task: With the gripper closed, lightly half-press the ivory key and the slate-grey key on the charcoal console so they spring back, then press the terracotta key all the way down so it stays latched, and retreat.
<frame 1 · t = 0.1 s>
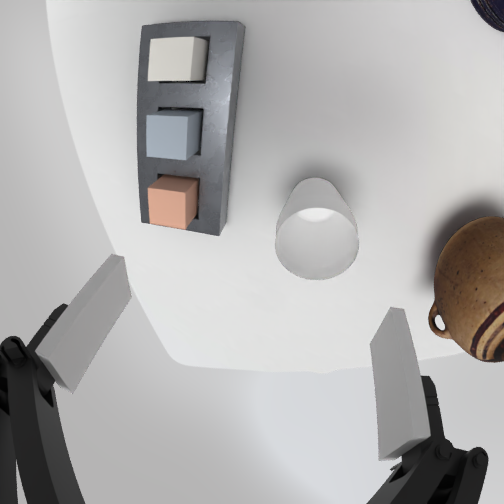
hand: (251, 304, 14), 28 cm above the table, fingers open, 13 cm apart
storage jar: (493, 2, 17), on the table
cup: (315, 199, 40), on the table
ivory key: (179, 59, 27), point 5 cm above the table, slide at 0.0 cm
slate key: (174, 132, 32), point 5 cm above the table, slide at 0.0 cm
console: (190, 125, 37), on the table
terracotta key: (174, 200, 37), point 5 cm above the table, slide at 0.0 cm
vase: (466, 247, 39), on the table
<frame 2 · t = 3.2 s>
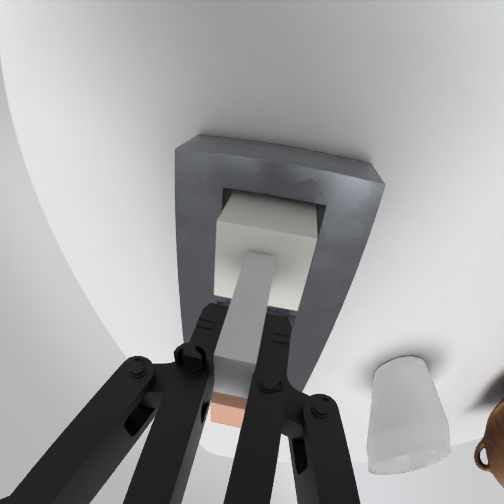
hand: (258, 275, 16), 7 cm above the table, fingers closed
cup: (399, 370, 30), on the table
ivory key: (266, 244, 18), point 5 cm above the table, slide at -0.8 cm, touching gripper
slate key: (249, 346, 22), point 5 cm above the table, slide at 0.0 cm
console: (259, 300, 27), on the table
terracotta key: (240, 397, 28), point 5 cm above the table, slide at 0.0 cm
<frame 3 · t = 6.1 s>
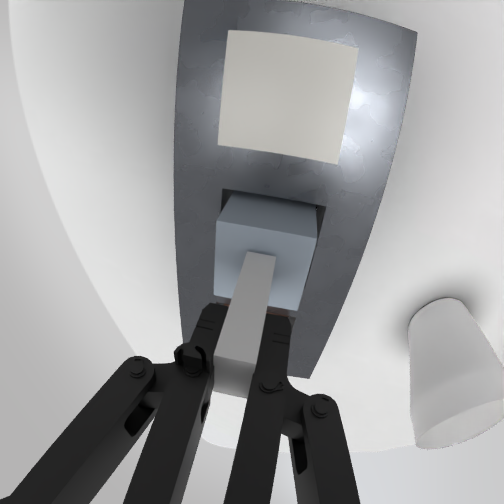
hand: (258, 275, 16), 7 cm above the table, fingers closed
cup: (436, 320, 25), on the table
ivory key: (288, 91, 12), point 5 cm above the table, slide at -0.3 cm
slate key: (266, 244, 18), point 4 cm above the table, slide at -0.9 cm, touching gripper
console: (274, 212, 22), on the table
terracotta key: (248, 347, 22), point 5 cm above the table, slide at 0.0 cm
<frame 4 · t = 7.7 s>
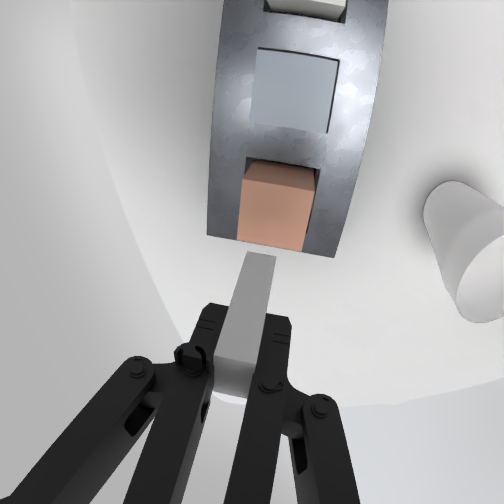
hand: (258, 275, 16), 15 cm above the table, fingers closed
cup: (448, 209, 26), on the table
slate key: (293, 89, 18), point 5 cm above the table, slide at -0.3 cm
console: (295, 87, 23), on the table
terracotta key: (276, 202, 23), point 5 cm above the table, slide at 0.0 cm
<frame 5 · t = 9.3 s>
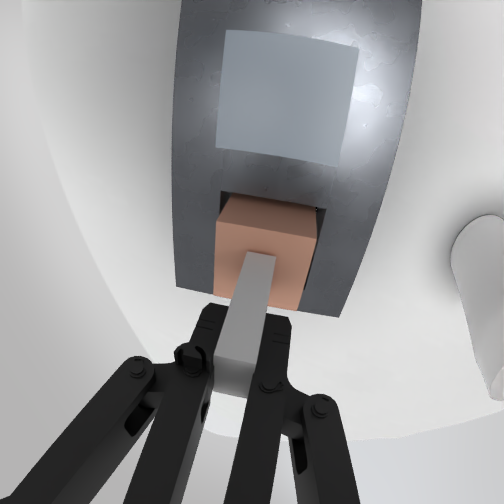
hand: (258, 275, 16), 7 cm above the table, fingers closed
cup: (480, 247, 20), on the table
slate key: (287, 92, 12), point 5 cm above the table, slide at -0.3 cm
console: (292, 88, 16), on the table
terracotta key: (266, 245, 18), point 4 cm above the table, slide at -1.2 cm, touching gripper
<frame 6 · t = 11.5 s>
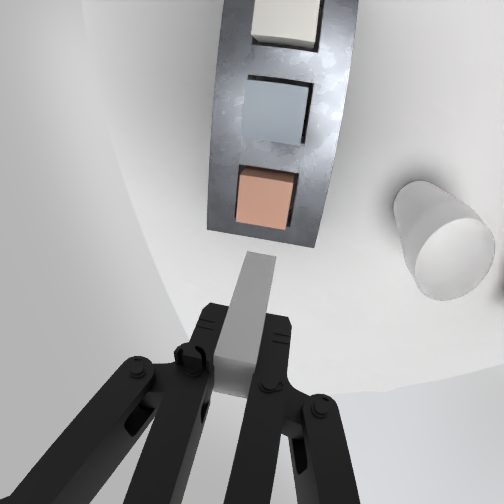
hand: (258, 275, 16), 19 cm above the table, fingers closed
cup: (417, 205, 31), on the table
ivory key: (287, 16, 19), point 5 cm above the table, slide at -0.3 cm
slate key: (276, 109, 24), point 5 cm above the table, slide at -0.3 cm
console: (280, 105, 28), on the table
terracotta key: (266, 193, 30), point 3 cm above the table, slide at -2.1 cm
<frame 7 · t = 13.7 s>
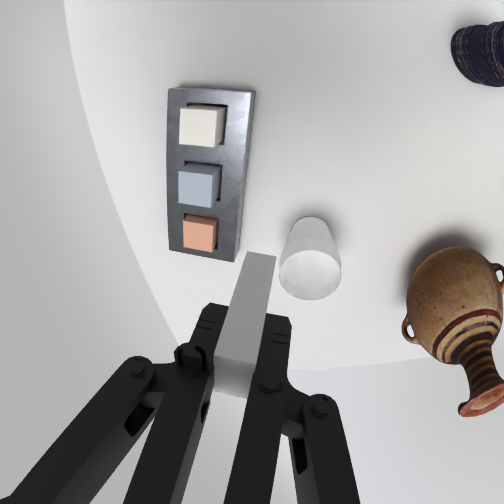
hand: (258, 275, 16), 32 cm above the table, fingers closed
storage jar: (474, 55, 27), on the table
cup: (310, 232, 51), on the table
ivory key: (203, 124, 38), point 5 cm above the table, slide at -0.3 cm
slate key: (200, 183, 43), point 5 cm above the table, slide at -0.3 cm
console: (210, 172, 47), on the table
terracotta key: (202, 229, 50), point 3 cm above the table, slide at -2.1 cm
vase: (438, 268, 50), on the table
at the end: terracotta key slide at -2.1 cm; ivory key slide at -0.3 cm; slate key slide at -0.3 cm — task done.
